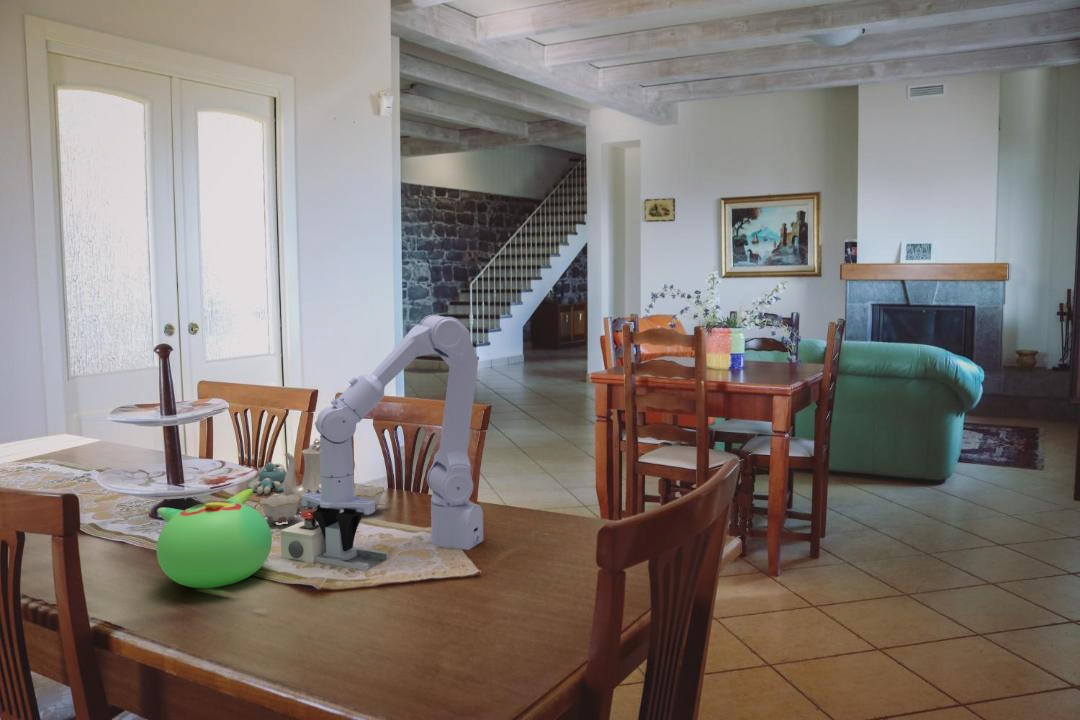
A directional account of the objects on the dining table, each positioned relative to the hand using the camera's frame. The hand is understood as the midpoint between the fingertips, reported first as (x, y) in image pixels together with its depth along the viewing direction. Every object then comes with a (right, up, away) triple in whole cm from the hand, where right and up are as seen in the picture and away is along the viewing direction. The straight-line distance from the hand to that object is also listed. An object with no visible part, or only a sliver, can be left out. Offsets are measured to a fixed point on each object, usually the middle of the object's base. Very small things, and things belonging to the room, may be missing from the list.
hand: (339, 548), depth 151 cm
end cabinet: (-6, -3, +3) cm, 7 cm away
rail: (+2, -3, -1) cm, 4 cm away
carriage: (0, -2, 0) cm, 2 cm away
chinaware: (-11, 0, +31) cm, 33 cm away
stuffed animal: (-29, +2, +51) cm, 59 cm away
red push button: (-6, +1, +2) cm, 6 cm away
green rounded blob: (-19, -4, -9) cm, 21 cm away
